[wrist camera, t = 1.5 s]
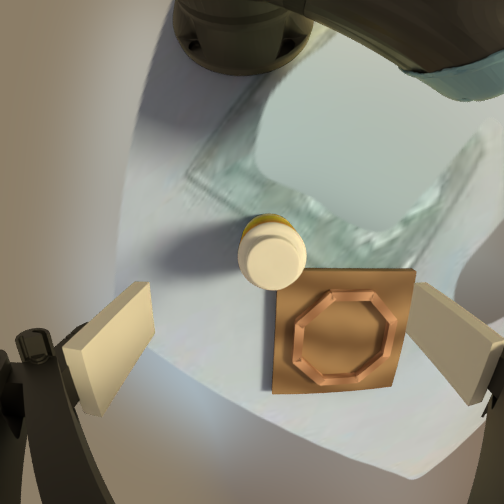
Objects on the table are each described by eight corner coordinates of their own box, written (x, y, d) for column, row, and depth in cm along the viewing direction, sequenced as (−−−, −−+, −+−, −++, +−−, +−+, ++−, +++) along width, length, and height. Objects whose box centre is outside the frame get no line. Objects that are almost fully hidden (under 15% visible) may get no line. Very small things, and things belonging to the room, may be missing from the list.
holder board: (277, 267, 33) (278, 273, 31) (411, 268, 33) (420, 273, 30) (271, 388, 36) (272, 399, 34) (388, 381, 36) (393, 390, 34)
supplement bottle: (232, 226, 32) (221, 246, 22) (281, 203, 31) (292, 213, 21) (256, 273, 33) (255, 312, 23) (303, 252, 32) (323, 282, 22)
